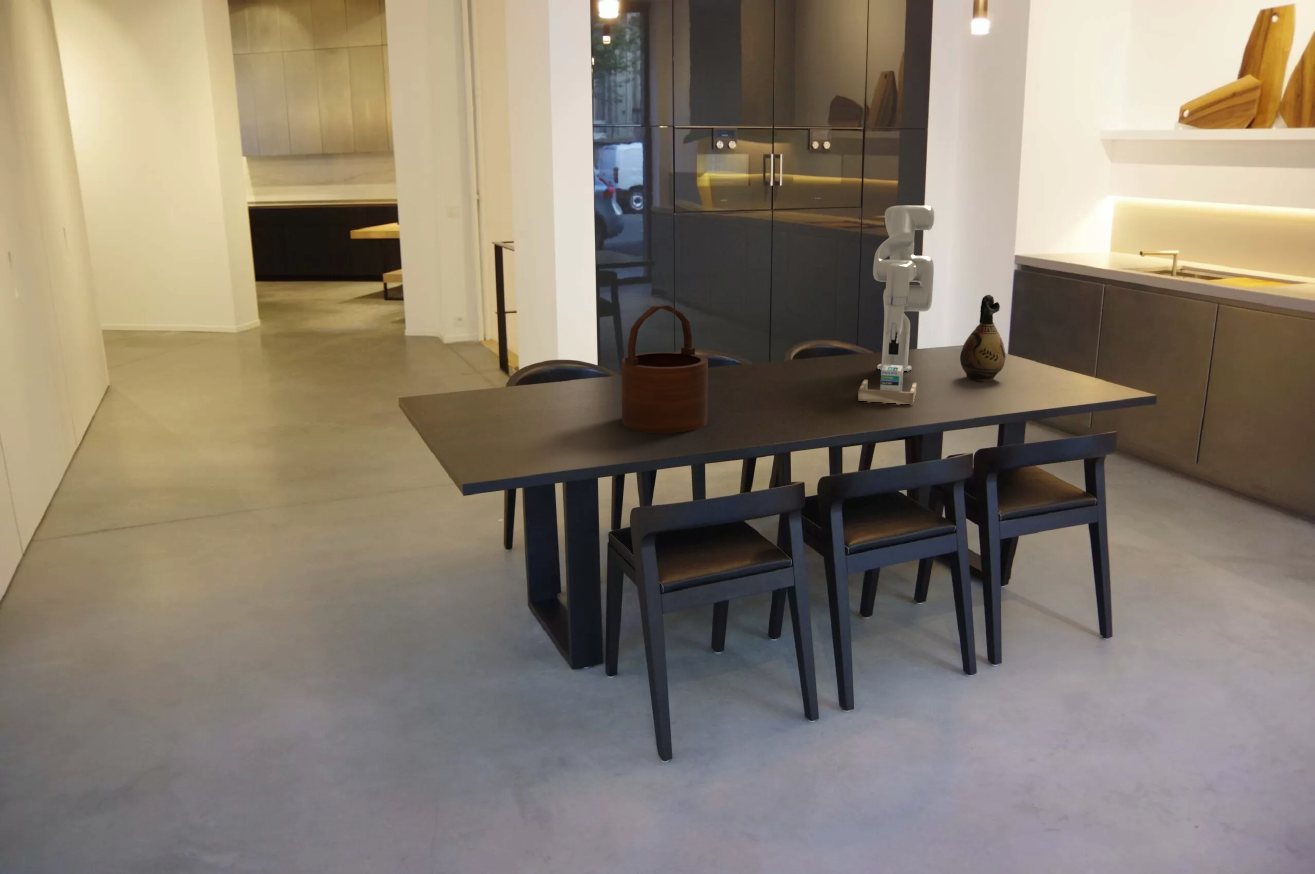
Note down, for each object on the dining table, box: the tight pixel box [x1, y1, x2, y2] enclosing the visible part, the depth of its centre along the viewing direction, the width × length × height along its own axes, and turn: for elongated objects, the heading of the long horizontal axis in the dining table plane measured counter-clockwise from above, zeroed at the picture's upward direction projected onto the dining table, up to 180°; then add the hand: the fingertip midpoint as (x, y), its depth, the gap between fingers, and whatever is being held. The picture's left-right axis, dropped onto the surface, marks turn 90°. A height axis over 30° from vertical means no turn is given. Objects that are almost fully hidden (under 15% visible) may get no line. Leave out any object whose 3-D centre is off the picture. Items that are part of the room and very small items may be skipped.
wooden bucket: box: [621, 304, 709, 434], centre depth 304 cm, size 26×26×35 cm
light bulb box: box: [879, 364, 904, 392], centre depth 336 cm, size 11×7×11 cm, turn 164°
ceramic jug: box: [959, 294, 1007, 383], centre depth 365 cm, size 17×15×30 cm
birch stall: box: [857, 379, 918, 406], centre depth 339 cm, size 16×17×4 cm
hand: (893, 354), depth 349 cm, fingers closed
